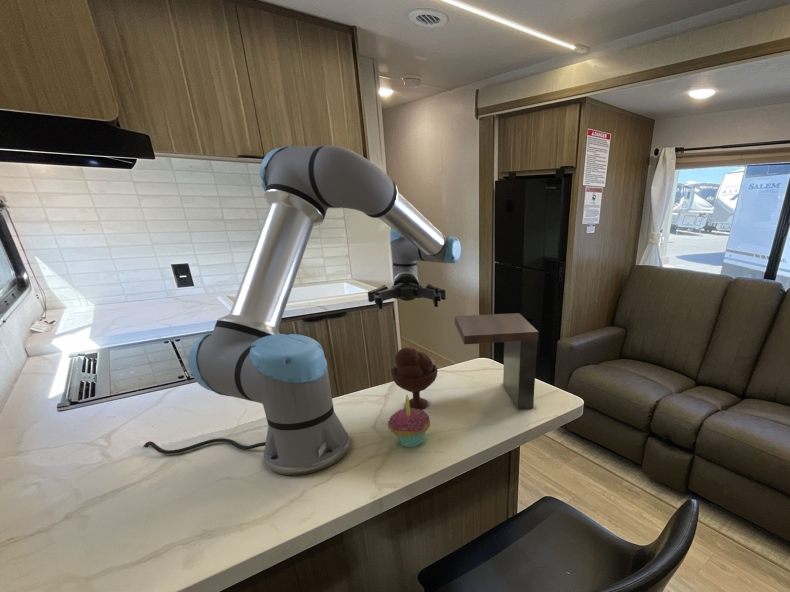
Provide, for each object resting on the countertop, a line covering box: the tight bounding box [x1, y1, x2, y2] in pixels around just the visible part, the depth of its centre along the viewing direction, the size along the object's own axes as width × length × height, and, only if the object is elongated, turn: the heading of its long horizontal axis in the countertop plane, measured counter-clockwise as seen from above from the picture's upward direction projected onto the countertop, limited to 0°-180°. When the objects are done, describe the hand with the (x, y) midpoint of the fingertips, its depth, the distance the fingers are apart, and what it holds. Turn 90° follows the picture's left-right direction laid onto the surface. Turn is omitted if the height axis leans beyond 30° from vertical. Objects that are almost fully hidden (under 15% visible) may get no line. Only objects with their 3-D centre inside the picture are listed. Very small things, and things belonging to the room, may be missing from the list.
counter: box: [454, 312, 540, 411], centre depth 100 cm, size 17×16×20 cm
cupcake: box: [387, 394, 431, 448], centre depth 83 cm, size 9×8×12 cm
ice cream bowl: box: [390, 347, 439, 410], centre depth 97 cm, size 11×11×15 cm
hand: (408, 302), depth 100 cm, fingers open, 13 cm apart
